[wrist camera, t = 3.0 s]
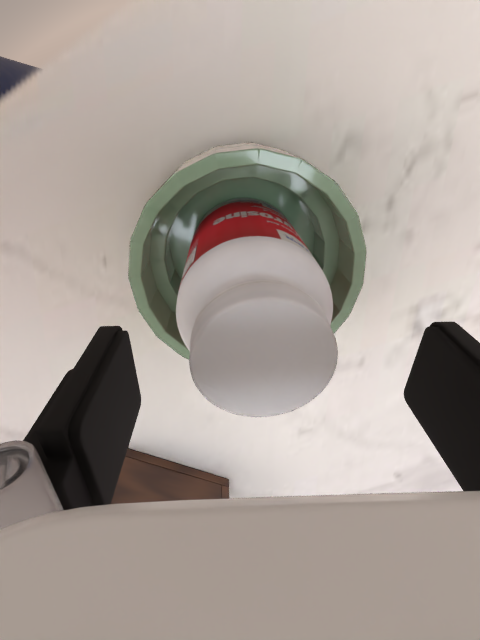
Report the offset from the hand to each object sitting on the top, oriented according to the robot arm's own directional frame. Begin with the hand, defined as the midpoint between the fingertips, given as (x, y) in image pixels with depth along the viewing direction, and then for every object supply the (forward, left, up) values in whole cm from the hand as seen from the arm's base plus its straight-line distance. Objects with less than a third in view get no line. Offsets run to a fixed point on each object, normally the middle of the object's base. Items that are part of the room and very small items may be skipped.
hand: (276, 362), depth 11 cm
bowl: (0, 0, -11) cm, 11 cm away
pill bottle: (0, 0, -11) cm, 11 cm away
